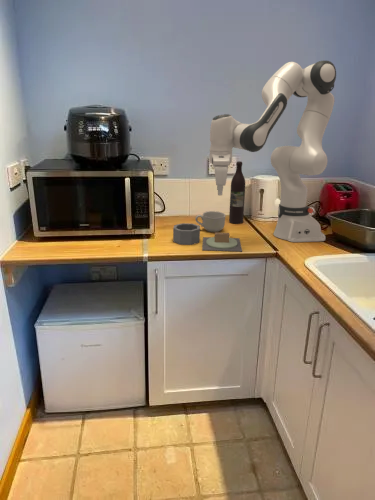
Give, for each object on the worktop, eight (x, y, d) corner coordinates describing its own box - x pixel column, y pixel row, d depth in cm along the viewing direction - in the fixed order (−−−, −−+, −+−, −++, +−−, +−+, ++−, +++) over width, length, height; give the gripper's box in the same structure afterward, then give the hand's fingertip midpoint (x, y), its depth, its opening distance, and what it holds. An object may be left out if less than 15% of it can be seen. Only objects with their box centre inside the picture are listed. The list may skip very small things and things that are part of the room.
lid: (236, 239, 164) (236, 229, 163) (238, 249, 152) (238, 238, 151) (206, 238, 165) (206, 228, 164) (205, 248, 153) (206, 238, 151)
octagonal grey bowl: (200, 236, 168) (200, 223, 166) (199, 245, 158) (199, 231, 156) (175, 235, 169) (175, 223, 167) (172, 244, 159) (172, 230, 156)
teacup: (224, 227, 182) (225, 211, 180) (224, 234, 172) (225, 217, 169) (196, 226, 184) (196, 210, 181) (194, 233, 173) (194, 216, 171)
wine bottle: (226, 222, 191) (229, 161, 180) (234, 219, 196) (237, 160, 185) (238, 224, 187) (241, 163, 176) (245, 222, 192) (249, 161, 181)
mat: (239, 239, 166) (239, 238, 166) (242, 251, 151) (242, 250, 151) (203, 237, 167) (203, 237, 167) (202, 250, 152) (202, 249, 152)
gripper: (212, 154, 159) (211, 187, 164) (213, 161, 140) (212, 198, 145) (227, 154, 159) (226, 187, 164) (230, 161, 140) (228, 198, 145)
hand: (219, 192), depth 155 cm, fingers open, 8 cm apart
